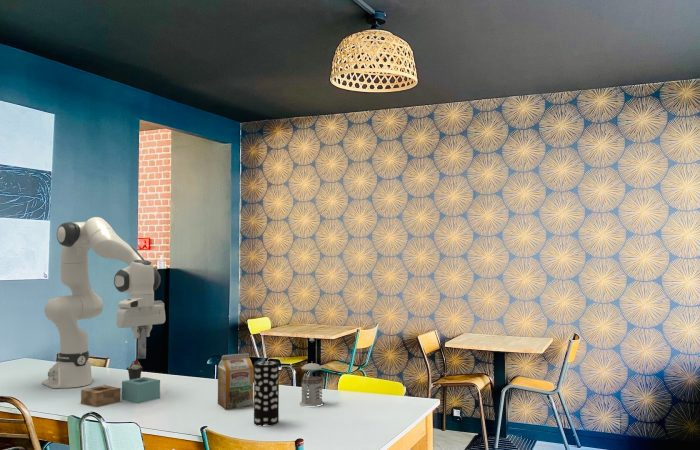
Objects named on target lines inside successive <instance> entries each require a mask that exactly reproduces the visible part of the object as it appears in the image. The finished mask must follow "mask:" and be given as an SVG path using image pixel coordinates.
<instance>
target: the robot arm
mask: <svg viewBox="0 0 700 450" xmlns="http://www.w3.org/2000/svg"><path fill="white" fill-rule="evenodd" d="M56 239H57V241H58V243H59V245H61V254H60V281H61V283H62V285H64V286H65V287H68V288H69V290H70V291H71V295H70V294H69V295H59V296H56V297H52V298H49V299H47V302H45V305H44V313H45V317H46V318H47V319H48V320H50V322H52V323H53V324H54V325H55V327H56V328H57V332H58V333H59V346H60V347H59V348H60V349H59V353H58V354H57V362H55V364H54V365H52V367H50V368H49V370H48V372H47V379H45V380H42V381H41V382H42V383H41V384H42V385H45V386H47V387H48V388H50V389H63V388H65V389H67V388H78V387H85V386H88V385H91V384H92V382H94V381H95V379H94V378H93V377H92V366H91V365H92V364H91V362H90V361H89V358H90V353H89V352H90V351H89V347H88V346H89V333H87V331H86V330H84V329H83V328H80V326H79V324H78V321H79V320H89V319H92V318H95V317H98V316H100V315H101V314H102V312H103V310H104V302H103V299H102V298H101V296H99V295H98V294H96V292H95V291H94V290H93V287H92V285H91V282H90V277H89V257H88V255H89V254H88V252H89V250H90V249H92V251H93V252H94V253H95V254H96V255H98V256H99V257H101V258H104V259H110V260H116V261H120V262H124V263H126V264H128V266H126V267H124V268H122V269H119V270H118V271H116V273H115V274H114V278H113V284H114V287H115V289H116V290H117V291H118V292H119V293H124V294H126V293H130V295H129V297H128V298H125V299H123V300H121V301H119V302H118V303H117V305H118V310H117V312H116V326H117V327H118V329H119V328H121V329H125V328H131V331H132V333H133V338H134V339H138V338H140V333H138V327H146V338H149V337H150V336H151V335H150V334H151V331H152V329H153V325H162V324H164V323H165V322H166V310H165V303H164V302H163V301H162V300H161V299H160V300H155V291H157V289H158V288H159V286H160V284H161V281H162V280H161V279H162V278H161V275H160V273H159V271H158V269H156V268H155V267H154V266H153V263H152V262H151V261H150V260H146V259H144V257H143V256H142V255H141V254H140V253H139V252H138V251H137V250H136V249H135V248H134V247H133V246H132V245H130V244H129V243H127V241H125V240H123V239H122V238H121V237H120V236H119V235H118V234H117V233H116V232H115V230H114V228H112V226H111V225H110V224H109V223H108V222H107V220H105V219H103V218H102V217H100V216H99V217H98V216H95V217H93V216H92V217H91V218H89V219H88V220H86V221H77V222H72V221H69V222H63V223H60V225H59V226H58V228H57V229H56Z"/></svg>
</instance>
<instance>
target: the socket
mask: <svg viewBox="0 0 700 450" xmlns="http://www.w3.org/2000/svg"><path fill="white" fill-rule="evenodd" d="M121 391H122V387H116V386H112V385H107V384H103V385H98V386H93V387H87V388H83V389H81V390H80V404H82V405H86V406H91V407H94V408H98V407H102V406H107V405H112V404H115V403H117V404H118V403H120V402H121Z"/></svg>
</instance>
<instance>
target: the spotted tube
mask: <svg viewBox="0 0 700 450" xmlns="http://www.w3.org/2000/svg"><path fill="white" fill-rule="evenodd" d="M279 373H280V363H279V362H278V361H275V360H262V361H261V360H260V361H256V362H254V363H253V424H254V425H255V424H256V425H255V426H258V425H261V426H260V427H264V426H263V425H271V426H275V425H278V424H279V419H280V418H279V416H280V415H279V414H280V413H279V409H280V408H279V406H280V404H279V403H280V402H279V401H280V400H279V399H280V397H279V395H280V393H279V392H280V389H279V388H280V387H279V386H280V385H279V384H280V382H279V381H280V380H279V379H280V378H279V377H280V376H279V375H280V374H279ZM277 423H278V424H277ZM274 424H275V425H274Z"/></svg>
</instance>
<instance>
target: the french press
mask: <svg viewBox="0 0 700 450" xmlns="http://www.w3.org/2000/svg"><path fill="white" fill-rule="evenodd" d="M309 342H315V338H314V337H310V338H309ZM300 368H301V370H303V371H309V372H310V371H311V372H313V371H320V370H322V369H323V366H321V364H318V363H315V362H314V363H313V362H311V363H306V364H304V365H302V366H301V367H300ZM311 372H310V373H309V374H308V375H307V373H306V372H305V373H304V375H303V377H302V381H301V401H300V402H299V404H300V405H302V406H301V407H304V406H317V405H321V404H323V403H325V402H324V401H323V395H322V394H323V392H322V391H323V381H322V380H321V379H322V377H321V376H313V375H311ZM299 404H298V405H299ZM300 405H299V406H300Z"/></svg>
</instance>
